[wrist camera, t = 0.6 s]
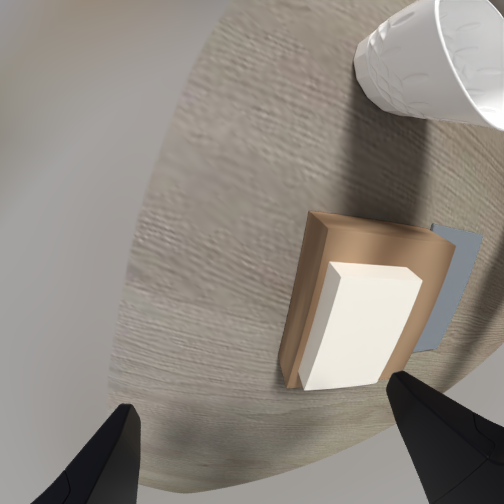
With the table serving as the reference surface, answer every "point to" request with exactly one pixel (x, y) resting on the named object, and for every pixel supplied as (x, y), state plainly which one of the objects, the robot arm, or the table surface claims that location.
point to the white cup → (437, 63)
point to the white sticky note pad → (357, 324)
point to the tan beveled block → (362, 252)
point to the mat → (450, 284)
